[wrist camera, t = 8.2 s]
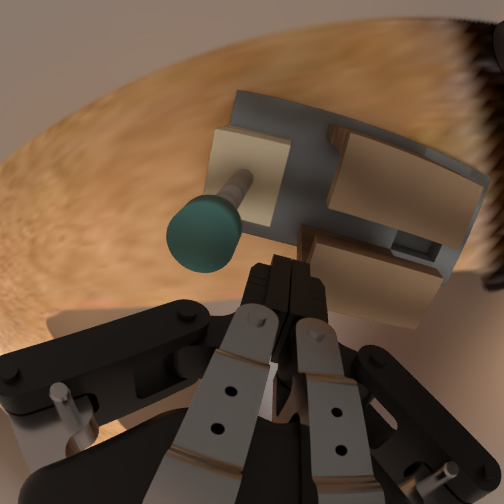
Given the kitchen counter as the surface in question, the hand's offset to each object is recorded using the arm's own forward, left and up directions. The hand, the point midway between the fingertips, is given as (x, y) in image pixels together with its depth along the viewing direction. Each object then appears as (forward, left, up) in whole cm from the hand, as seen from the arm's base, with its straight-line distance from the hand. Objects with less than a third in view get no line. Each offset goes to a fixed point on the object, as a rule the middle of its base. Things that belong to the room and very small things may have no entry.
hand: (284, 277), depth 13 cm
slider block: (0, -4, -18) cm, 19 cm away
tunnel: (0, +7, -21) cm, 22 cm away
